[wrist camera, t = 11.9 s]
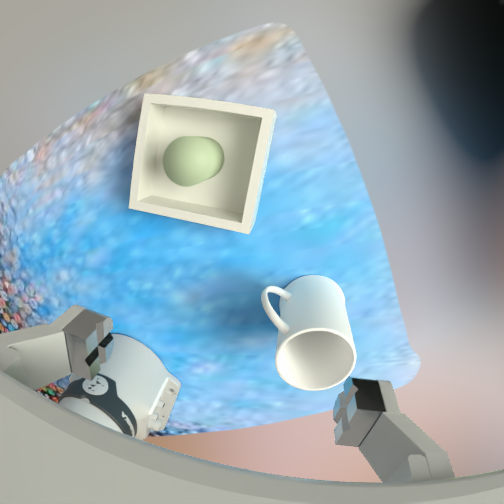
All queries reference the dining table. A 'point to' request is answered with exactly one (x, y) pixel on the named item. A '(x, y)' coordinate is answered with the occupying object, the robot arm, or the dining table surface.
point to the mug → (312, 333)
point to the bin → (218, 187)
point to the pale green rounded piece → (192, 160)
